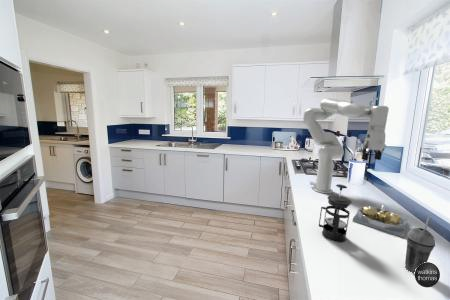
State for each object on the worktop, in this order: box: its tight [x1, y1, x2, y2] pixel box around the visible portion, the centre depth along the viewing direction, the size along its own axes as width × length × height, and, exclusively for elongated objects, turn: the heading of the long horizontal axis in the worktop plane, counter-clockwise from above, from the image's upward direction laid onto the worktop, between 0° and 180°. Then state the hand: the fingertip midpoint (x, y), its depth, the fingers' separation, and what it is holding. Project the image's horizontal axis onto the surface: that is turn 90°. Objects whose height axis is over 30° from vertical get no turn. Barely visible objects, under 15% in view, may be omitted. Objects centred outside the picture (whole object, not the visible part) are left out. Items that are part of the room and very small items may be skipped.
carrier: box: [352, 204, 408, 239], centre depth 109 cm, size 20×20×7 cm
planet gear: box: [384, 211, 402, 225], centre depth 104 cm, size 6×6×5 cm
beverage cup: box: [404, 216, 436, 275], centre depth 73 cm, size 7×7×20 cm
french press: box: [318, 184, 352, 243], centre depth 92 cm, size 12×9×23 cm
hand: (371, 159), depth 121 cm, fingers open, 9 cm apart
